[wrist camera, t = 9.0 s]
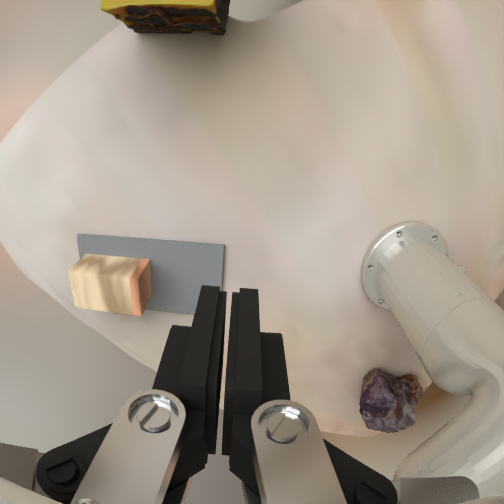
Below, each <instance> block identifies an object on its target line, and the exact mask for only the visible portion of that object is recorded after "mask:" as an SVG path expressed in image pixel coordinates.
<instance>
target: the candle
mask: <svg viewBox="0 0 504 504" xmlns="http://www.w3.org/2000/svg"><path fill="white" fill-rule="evenodd" d="M229 4H230V0H102V4H101V10H102V11H105V12H107V13H110V14H112V15H113V16H114V17H116V19H119V20H121V21H122V22H124V24H125V25H126V26H127V27H128V28H130V29H133V30H134V32H137V33H181V34H183V33H185V32H186V33H187V34H190V33H191V32H192V31H196V30H197V31H201V32H207V33H210V34H216V35H224V33H225V32H226V31H225V26H226V23H227V18H228V14H229Z"/></svg>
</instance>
